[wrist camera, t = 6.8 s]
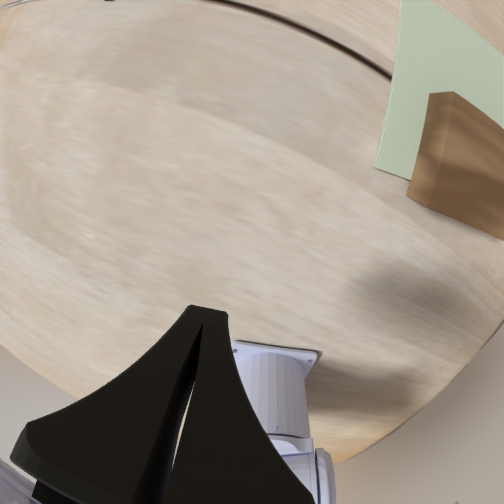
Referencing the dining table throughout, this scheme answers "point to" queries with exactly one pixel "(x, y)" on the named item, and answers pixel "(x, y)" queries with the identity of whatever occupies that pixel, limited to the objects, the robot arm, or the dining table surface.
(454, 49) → the mat
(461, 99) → the slab
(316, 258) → the dining table surface
